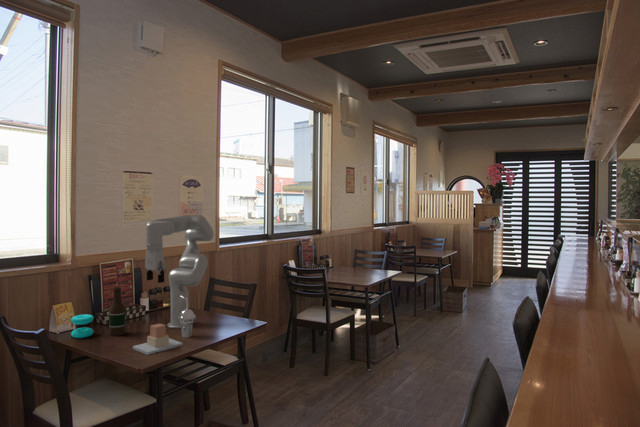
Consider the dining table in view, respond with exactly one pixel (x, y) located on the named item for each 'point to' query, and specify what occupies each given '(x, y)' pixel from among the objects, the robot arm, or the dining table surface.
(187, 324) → the cup with straw
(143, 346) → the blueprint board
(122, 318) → the beer bottle
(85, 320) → the turquoise yo-yo
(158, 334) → the terracotta block
